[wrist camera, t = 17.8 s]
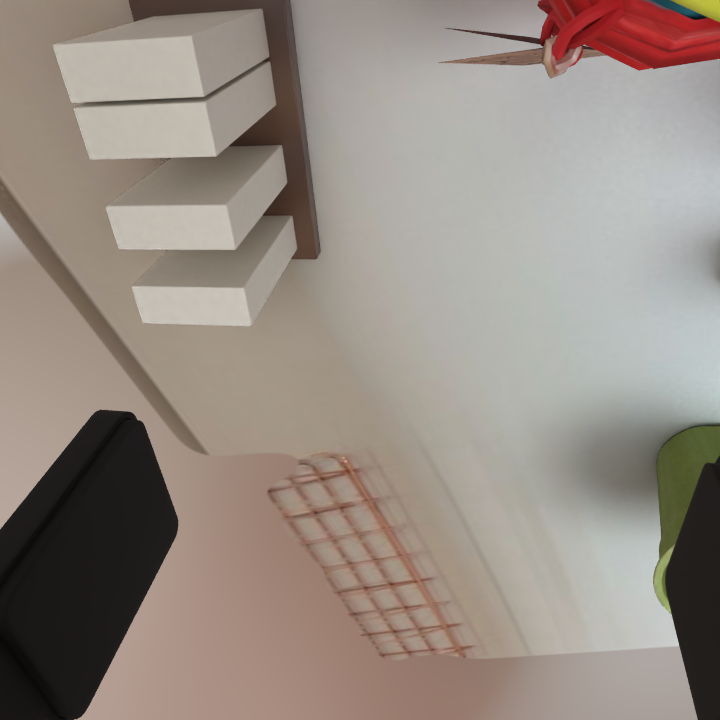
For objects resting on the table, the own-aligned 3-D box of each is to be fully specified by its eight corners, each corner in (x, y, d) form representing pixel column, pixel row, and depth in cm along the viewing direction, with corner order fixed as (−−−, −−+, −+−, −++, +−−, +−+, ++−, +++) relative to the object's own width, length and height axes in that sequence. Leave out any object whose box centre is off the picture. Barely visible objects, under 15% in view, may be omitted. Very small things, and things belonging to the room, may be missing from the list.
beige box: (183, 147, 39) (104, 206, 31) (282, 144, 38) (226, 204, 30) (192, 184, 40) (118, 250, 32) (287, 183, 39) (235, 250, 31)
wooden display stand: (137, -5, 35) (17, 20, 26) (288, -17, 34) (214, 5, 25) (199, 251, 44) (126, 335, 35) (320, 252, 43) (276, 339, 34)
